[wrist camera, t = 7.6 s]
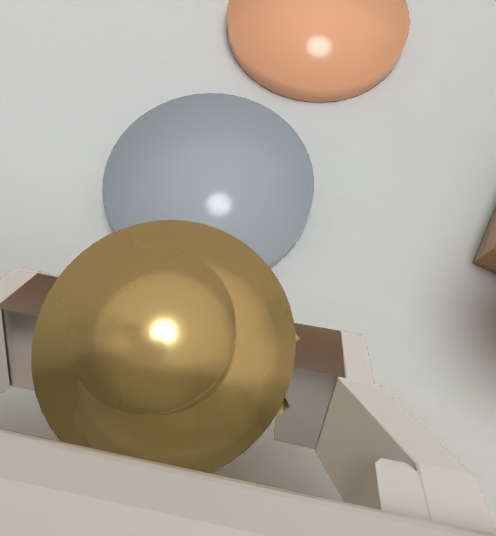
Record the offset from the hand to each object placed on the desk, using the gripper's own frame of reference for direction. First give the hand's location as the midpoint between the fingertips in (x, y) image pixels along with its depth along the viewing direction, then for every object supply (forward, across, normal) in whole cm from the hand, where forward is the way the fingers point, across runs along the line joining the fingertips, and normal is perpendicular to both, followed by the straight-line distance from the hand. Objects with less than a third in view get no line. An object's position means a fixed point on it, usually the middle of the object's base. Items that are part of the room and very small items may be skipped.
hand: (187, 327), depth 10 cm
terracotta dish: (+24, -2, -7) cm, 25 cm away
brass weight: (+3, 0, +4) cm, 5 cm away
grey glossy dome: (+15, +2, +2) cm, 16 cm away
